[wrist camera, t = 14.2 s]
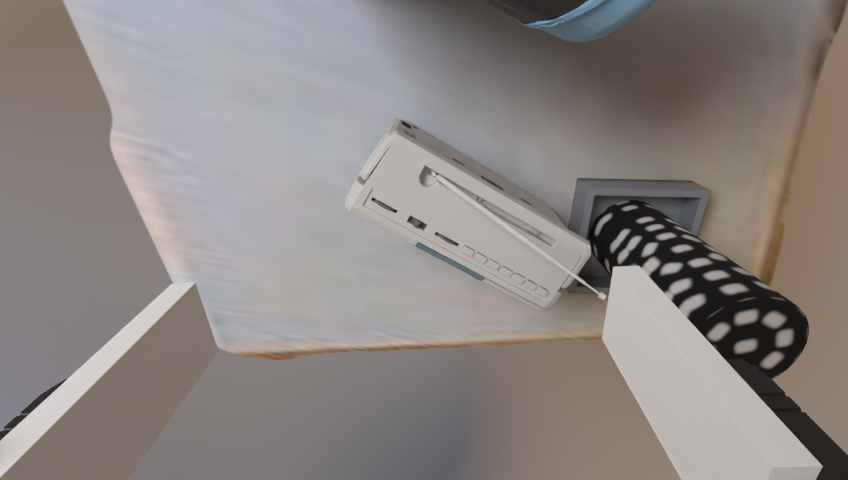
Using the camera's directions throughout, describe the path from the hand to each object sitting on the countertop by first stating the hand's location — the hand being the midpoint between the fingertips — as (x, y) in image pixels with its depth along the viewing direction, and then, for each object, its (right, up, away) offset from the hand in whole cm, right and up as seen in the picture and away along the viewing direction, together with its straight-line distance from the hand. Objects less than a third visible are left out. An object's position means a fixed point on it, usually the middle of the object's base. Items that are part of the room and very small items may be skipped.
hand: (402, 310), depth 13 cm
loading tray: (+24, +3, +35) cm, 43 cm away
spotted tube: (+24, +3, +35) cm, 42 cm away
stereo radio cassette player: (+5, +8, +34) cm, 35 cm away
